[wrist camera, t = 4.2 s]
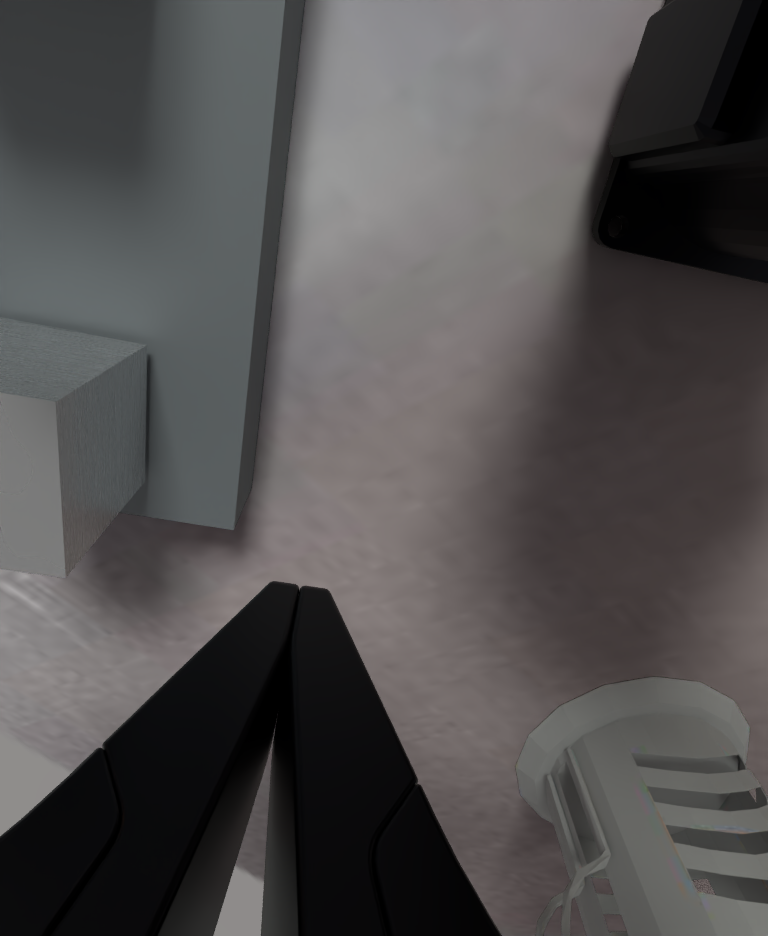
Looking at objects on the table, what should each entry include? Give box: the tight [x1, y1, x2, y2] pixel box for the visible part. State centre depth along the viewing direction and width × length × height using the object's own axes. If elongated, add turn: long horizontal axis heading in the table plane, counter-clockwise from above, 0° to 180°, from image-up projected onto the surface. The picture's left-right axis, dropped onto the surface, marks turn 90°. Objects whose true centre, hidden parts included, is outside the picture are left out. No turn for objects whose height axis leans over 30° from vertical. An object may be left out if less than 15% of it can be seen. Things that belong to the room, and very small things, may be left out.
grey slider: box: [0, 318, 147, 578], centre depth 11 cm, size 4×4×4 cm
